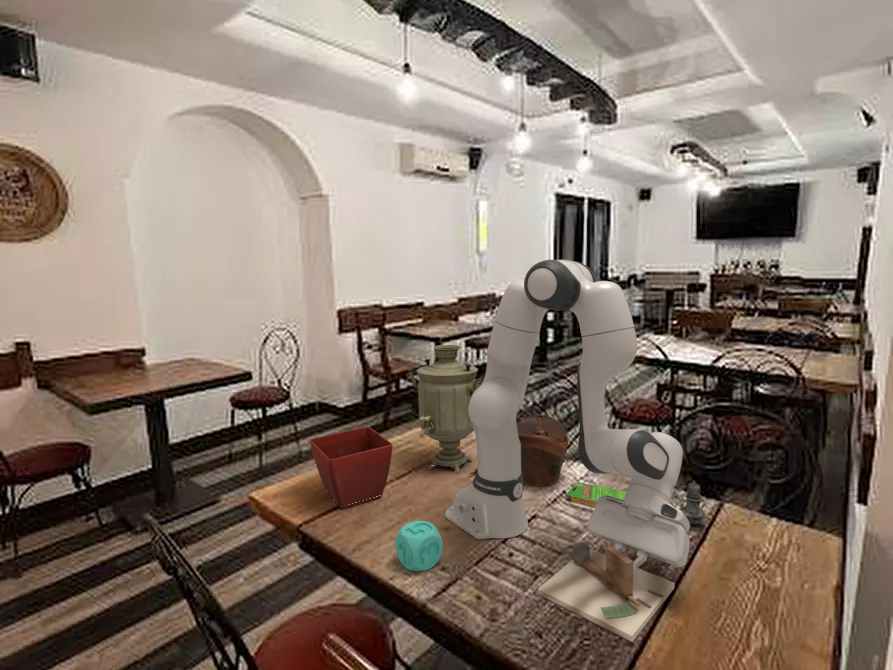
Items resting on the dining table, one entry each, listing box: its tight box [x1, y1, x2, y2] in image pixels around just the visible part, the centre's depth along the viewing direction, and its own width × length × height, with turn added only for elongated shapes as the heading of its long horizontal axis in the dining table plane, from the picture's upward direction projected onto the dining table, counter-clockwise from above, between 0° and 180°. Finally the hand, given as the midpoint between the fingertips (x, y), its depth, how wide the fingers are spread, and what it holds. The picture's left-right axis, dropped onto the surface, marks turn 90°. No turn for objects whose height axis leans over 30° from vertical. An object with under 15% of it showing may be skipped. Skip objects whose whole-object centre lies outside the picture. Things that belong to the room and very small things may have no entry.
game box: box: [565, 481, 627, 509], centre depth 144 cm, size 3×10×20 cm
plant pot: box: [309, 426, 394, 510], centre depth 152 cm, size 19×19×17 cm
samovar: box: [406, 344, 485, 475], centre depth 169 cm, size 30×26×40 cm
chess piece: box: [679, 480, 707, 531], centre depth 130 cm, size 6×6×12 cm
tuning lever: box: [572, 542, 640, 607], centre depth 107 cm, size 19×4×8 cm, turn 23°
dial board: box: [537, 548, 676, 643], centre depth 107 cm, size 20×20×1 cm
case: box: [516, 414, 569, 487], centre depth 160 cm, size 18×20×18 cm
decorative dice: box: [394, 520, 444, 572], centre depth 119 cm, size 8×8×8 cm
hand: (624, 570), depth 105 cm, fingers closed
